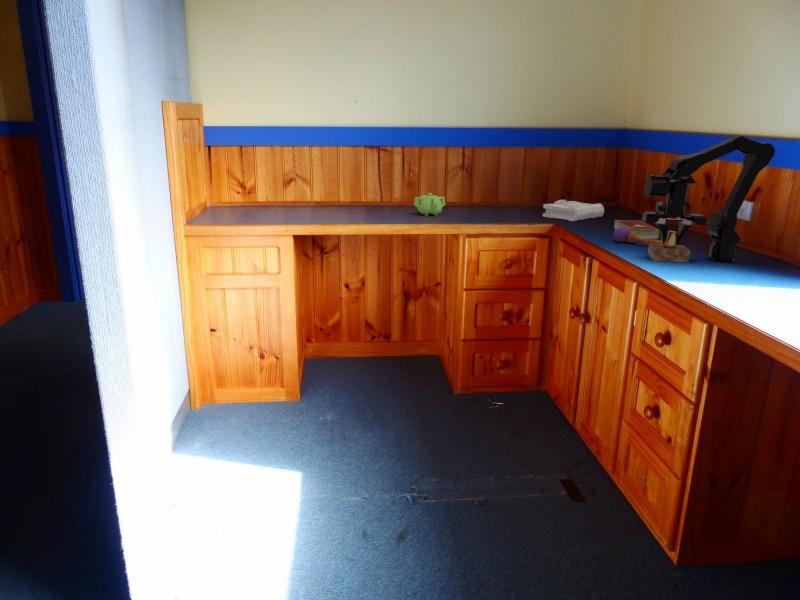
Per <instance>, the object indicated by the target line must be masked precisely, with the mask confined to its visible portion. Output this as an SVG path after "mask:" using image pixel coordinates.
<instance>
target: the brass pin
mask: <svg viewBox="0 0 800 600" xmlns="http://www.w3.org/2000/svg"><path fill="white" fill-rule="evenodd" d="M677 236H678V231H673V230H668V233H667V235H666V237H667V238H666V240H665V241H666V245H665V248H675V245H676V241H677Z"/></svg>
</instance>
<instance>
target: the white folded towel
mask: <svg viewBox="0 0 800 600" xmlns="http://www.w3.org/2000/svg"><path fill="white" fill-rule="evenodd" d="M543 209H544V210H545V212H543V213H542V217H544V218H551V219H552V218H554V219H561V220H566V221H569V222H577V221H578V222H579V221H584V220H589V219H590V220H591V219H596V218H601V217H603V215H604V213H605V208H604V205H603V204H602V203H599V202H598V203H593V204H592V203H586V202H585V203H584V202H580V201H575V200H573V201H572V200H569V201H567V199H559V200H557V201H554V203H546V204H543Z"/></svg>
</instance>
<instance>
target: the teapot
mask: <svg viewBox="0 0 800 600" xmlns="http://www.w3.org/2000/svg"><path fill="white" fill-rule="evenodd" d="M413 206H414V207H416V209H417V211H418V213H420V215H423V216H424V217H429V216H430V215H433V216H436V217H438V216H439V215H438V214H441V213H442V211H443V210H442V209H443V207H444V206H446V198H445V196H438V195H433V192H427V194H426V195H425V194H423V195H420V196H415V197H414V202H413Z"/></svg>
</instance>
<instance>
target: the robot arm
mask: <svg viewBox="0 0 800 600" xmlns="http://www.w3.org/2000/svg"><path fill="white" fill-rule="evenodd" d="M735 151H738V152H739V153H742V154H744V155H743V157H742V158H743V159H742V160H743V163H742V169H741V172H740V174H739V175H738V178H737V179H736V181H735V183H734V185H733V187H732V189H731V191H730V193H729V195H728V197H727V198H726V200H725V202H724V205H723V206H722V208H721V209H720V210H719V211H718V212H717V211H716V212H715V211H712V213H711V215H710V218H709V219H708V220H707V217H706V216H705V215H703V214H701V213H689V214H688V215H686V214H685V211H686V205H687V204H688V203H687V202H688V201H687V198H688V192H689V191H688V190H689V186H690V185H689V184H691V185H693V184H694V185H695V184H697V181H696V180H695V179H694V178H693V176H692V175H693V174H694V173H695V172H697V171H698V170H699V169H701V168H702V167H703V166H705V165H706V164H709V163H712V161H716V160H717V159H720V158H723V157H724V156H726V155H728V154H731V153H734V152H735ZM775 154H776V149H775V147H774V145H773V144H772V143H769V142H759V141H756V140H753V139H749V138H747V137H745V136H743V135H732V136H731V137H729V138H727V139H725V140H723V141H721V142H718V143H716V144H714V145H711V146H709V147H707V148H704V149H702V150H701V151H698V152H694V153H690V154H685V155H681V156H678V157H677V156H676V157H674V158H672V159H671V160H670V164H669V166H668V168H666V169H665V171H663V173H662V174H661V175H654V174H649V175H648V177H647V179H646V181H645V184H644V185H643V193H644V196H645V197H655V198H657V197H659V198H661V197H663V198H664V197H666V196H667V198H666V200H665V203H664V201H656V203H655V204H656V205H655V211H644V212H643V213H642V218H641V221H643V222H645V223H647V224H651V223H652V224H655V225H656V226H657V227H658V230H660V240H661V241H662V244H664V243H665V241H666V240H667V238H666V237H667V228H668V224H667V223H666V221H667V222H678V229H677V232H678V236H677V241H676V245H679V243H680V242H681V240H682V238H683V237H684V235H685V234H686V232H688V230H689V229H690V228H693V224H694V225H696V226H706V225H707V228H706V229H707V232H708V233H709V234H710V239H711V240H712V243H711V244H710V245H709V251H708V256H707V258H709V259H710V260H712V261H714V262H726V263H734V262H735V260H734V254H735V249H736V246H737V245H738V244H739V243H740V241H741V237H740V235H738V233H737V232H736V231H735V230H736V227H737V225H738V213H739V211H740V210H741V207H742V206H743V203H744V202H745V200H746V198H747V196H748V194H749V192H750V190H751V188H752V186H753V185H754V183H755V181H756V179H757V176H758V175H759V173H761V171H762V170H763V169H765V168H766V167H767V166H768V165H769V164H770V163H771V161H772V160H773V158H774V157H775ZM659 213H660V214H659Z"/></svg>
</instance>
